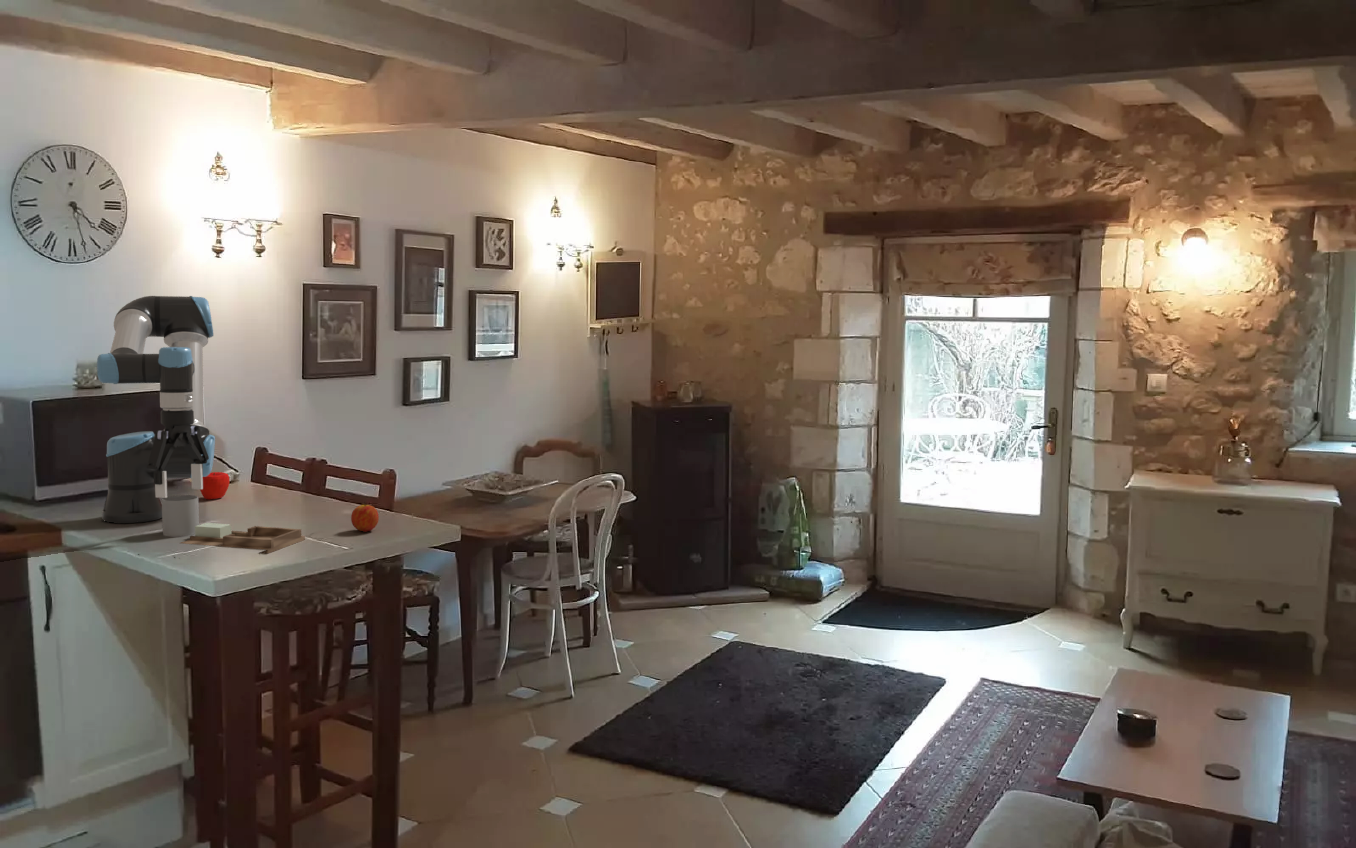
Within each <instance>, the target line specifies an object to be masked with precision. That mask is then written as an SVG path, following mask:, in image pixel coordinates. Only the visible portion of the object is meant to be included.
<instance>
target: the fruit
mask: <svg viewBox="0 0 1356 848" xmlns="http://www.w3.org/2000/svg"><path fill="white" fill-rule="evenodd" d="M366 503H367V502H366V500H365V501H364V504H360V505H358V506H356V507H355V508H354V509H353V511H352V512H351V516H350V521H351V524H352V526H353V527H354V528H355V529H356V530H358V531H359V532H361V531H363V532H364V533H367V532H370V531H373V530H374V529H375V528H376V527H377V525H378V523H379V521H380V520H379V517H380V516H379V513H378V510H377V509H376V508H375V506H373V505H370V504H366ZM363 532H362V533H363Z"/></svg>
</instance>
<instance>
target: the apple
mask: <svg viewBox="0 0 1356 848" xmlns="http://www.w3.org/2000/svg"><path fill="white" fill-rule="evenodd" d="M229 486H230V476H229V474H228V473H226V472H223V471H221V472H220V471H214V472H212V471H211V473H210V474H209V475H208V476H206V477H203V489H199V491H200V493H201V496H202V497H203V499H205V500H209V501H210V500H215V499H217V500H218V499H221V498H224V496H225V495H226V493H227V491H228V489H229Z"/></svg>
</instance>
